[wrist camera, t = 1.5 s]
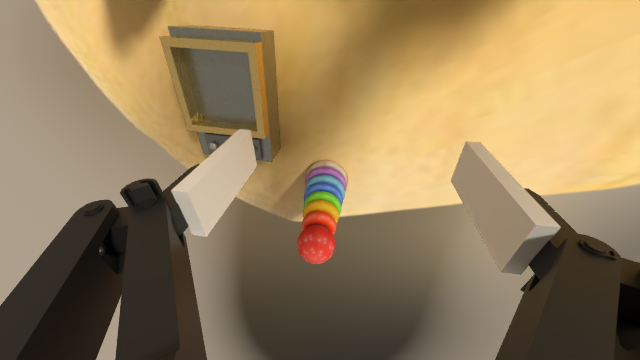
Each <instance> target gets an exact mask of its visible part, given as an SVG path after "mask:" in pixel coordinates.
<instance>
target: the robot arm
mask: <svg viewBox="0 0 640 360" xmlns="http://www.w3.org/2000/svg"><path fill="white" fill-rule="evenodd" d="M256 167H257V162H256V157H255V151H254V146H253V141H252V136H251V131H250V130H245V129H239V130H238V131H237V132H235V133H234V134H233V135H232V136H231V137H230V138H229V139H228V140H227V141H225V142H224V143H223V144H222V145H221V146H220V147H219V148H218V149H217V150H215V151H214V152H213V153H212V154H211V155H210V156H209V157H208V158H207V159H205V160H204V161H203V162H202V163H201V164H197V165H195V166H193V167H191V168H190V169H188V170H187V171H186V172H185V173H184V174H183V175H182V176H180V177H179V178H178V180H176V181H175V182H174V183H172V184H171V185H170V186H169V187H168V188H166V189H165V190H164V191H163V192H162V190H161V188H160V186H159V184H158V182H157V181H156V180H154V179H143V180H138V181H135V182H132V183H131V184H129V185H127V186H125V187H124V188H123V189H122V190H121V192H120V194H121V195H122V197H123V198H124V200H125V201H126V203H127V204H128V206H129V207H122V208H116V207H115V205H114V204H113V203H112V201H110V200H99V201H95V202H91V203H90V204H86V205H85V206H83V207H82V208H80V209H79V210H78V211H76V212H75V213H74V215H73V216H72V217H71V218H70V220H69V221H68V222H67V223H66V225H65V226H64V227H63V228H62V230H61V231H60V232H59V233H58V235H57V236H56V237H55V238H54V240H53V241H52V242H51V243H50V245H49V246H48V247H47V248H46V250H45V251H44V252H43V253H42V255H41V256H40V257H39V258H38V260H37V261H36V262H35V263H34V265H33V266H32V267H31V268H30V270H29V271H28V272H27V273H26V275H25V276H24V277H23V278H22V280H21V281H20V282H19V283H18V284H17V286H16V287H15V288H14V289H13V291H12V292H11V293H10V294H9V296H8V297H7V298H6V299H5V301H4V302H3V303H2V304H1V306H0V360H96V358H97V355H98V353H99V350H100V347H101V345H102V342H103V340H104V337H105V335H106V332H107V330H108V327H109V325H110V322H111V320H112V317H113V314H114V312H115V309H116V307H117V304H118V302H119V299H120V297H121V294H122V297H121V306H120V317H119V327H118V338H117V348H116V359H115V360H207V357H206V351H205V346H204V340H203V335H202V329H201V323H200V317H199V311H198V305H197V300H196V294H195V289H194V283H193V277H192V271H191V265H190V260H189V254H188V248H187V243H186V237H185V236H184V233H183V232H184V231H185V230H186V228H187V227H189V229H190V231H191V233H192V235H196V236H205V237H207V236H208V234H209V233H210V231H211V230H212V229H213V227H214V226H215V224H216V223H217V222H218V220H219V219H220V217H221V216H222V215H223V213H224V212H225V210H226V209H227V208H228V206H229V205H230V203H231V202H232V201H233V199H234V198H235V196H236V195H237V194H238V192H239V191H240V189H241V188H242V187H243V185H244V184H245V182H246V181H247V180H248V178H249V177H250V175H251V174H252V173H253V171H254V170H255V168H256ZM451 182H452V184H453V186H454V188H455V189H456V191H457V193H458V195H459V197H460V199H461V200H462V202H463V204H464V206H465V208H466V210H467V211H468V213H469V215H470V217H471V219H472V221H473V222H474V224H475V226H476V228H477V230H478V232H479V233H480V235H481V237H482V239H483V241H484V243H485V244H486V246H487V248H488V250H489V252H490V254H491V255H492V257H493V259H494V261H495V263H496V264H497V266H498V268H499V270H500V272H505V273H513V274H522V273H523V271H524V270H525V269H526V268H527V267H528V265H529V266H530V267H531V269H532V270H533V272H534V273H535V274H534V275H533V276H532V277H531V279H530V280H529V281H528V282H527V283H526V284H525V285H524V286H523V287H522V289H521V290H522V291H523V292H524V291H525V292H524V294H523V296H522V299H521V301H520V303H519V306H518V308H517V310H516V313H515V315H514V317H513V320H512V322H511V324H510V326H509V329H508V331H507V333H506V336H505V338H504V340H503V343H502V345H501V347H500V350H499V352H498V354H497V357H496V359H495V360H640V263H638V262H634V261H631V260H627V259H624V258H621V257H620V255H619V254H618V253H617V252H616V251H615V250H614V249H613V248H611V247H610V246H609V245H607V244H606V243H604V242H602V241H600V240H598V239H595V238H593V237H590V236H587V235H582V234H578V233H576V231H575V230H574V229H573V228H571V226H570V225H569V224H568V223H566V221H565V220H564V219H563V218H562V217H561V216H560V215H559V214H558V213H556V212H554V209H552V207H551V206H549V205H548V203H547V202H546V201H544V199H543V198H541V196H539V195H538V194H536V193H534V192H533V191H531V190H530V189H526V188H523V187H522V186H521V185H520V184H519V183H518V182H517V181H516V180H515V178H514V177H513V176H512V175H511V174H510V173H509V172H508V171H507V170H506V169H505V168H504V167H503V166H502V165H501V164H500V163H499V162H498V161H497V160H496V158H495V157H494V156H493V155H492V154H491V153H490V152H489V151H488V150H487V149H486V148H485V147H484V146H483V145H482V144H481V143H480V142H466V143H465V145H464V148H463V150H462V153H461V155H460V158H459V161H458V163H457V166H456V168H455V171H454V173H453V176H452V178H451ZM99 249H100V250H101V252H100V251H99Z"/></svg>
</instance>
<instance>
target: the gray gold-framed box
mask: <svg viewBox="0 0 640 360" xmlns="http://www.w3.org/2000/svg"><path fill="white" fill-rule="evenodd" d="M168 29H169V32H170V36H161V37H159V38H160V41H161V44H162V47H163V51H164V54H165V57H166V61H167V64H168V67H169V70H170V74H171V77H172V80H173V84H174V87H175V90H176V93H177V97H178V100H179V103H180V106H181V110H182V113H183V116H184V120H185V123H186V126H187V129H188V131H197V132H198V136H199V139H200V143H201V146H202V150H203V153H204V154H212V153H213V152H214V151H215V150H217V149H218V148H219V147H220V146H221V145H222V144H223V143H224V142H225V141H227V140H228V139H229V138H230V137H231V136H232V135H233V134H234V133H235V132H237V131H238V130H239V129H245V130H250V131H251V136H252V141H253V146H254V151H255V157H256V160H263V161H271V162H272V161H273V159H274V157H275V156H276V154H277V153H278V151H279V149H280V131H279V114H278V98H277V81H276V64H275V47H274V31H272V30H256V29H240V28H225V27H209V26H193V25H190V26H168Z"/></svg>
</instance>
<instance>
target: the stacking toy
mask: <svg viewBox="0 0 640 360" xmlns="http://www.w3.org/2000/svg"><path fill="white" fill-rule="evenodd" d="M347 184H348V175H347V173H346V171H345V169H344V168H343V167H342V166H341V165H340V164H338V163H336V162H334V161H330V160H321V161H318V162H315V163H314V164H312V165H311V166H310V167H309V169H308V171H307V173H306V180H305V195H304V201H305V203H304V211H303V218H304V219H303V221H302V228H303V231H302V232H301V234H300V236H299V238H298V242H297V246H298V251H299V254H300V255H301V257H302V258H303V259H304V260H306V261H307V262H309V263H312V264H320V263H323V262H325V261H327V260H328V259H329V258H330V257H331V256H332V254H333V252H334V249H335V239H334V237H333V235H334V233H335V232H336V227H337V225H336V223H337V221H338V219H339V215H340V212H341V206H342V203H343V199H344V196H345V191H346V187H347Z"/></svg>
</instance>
